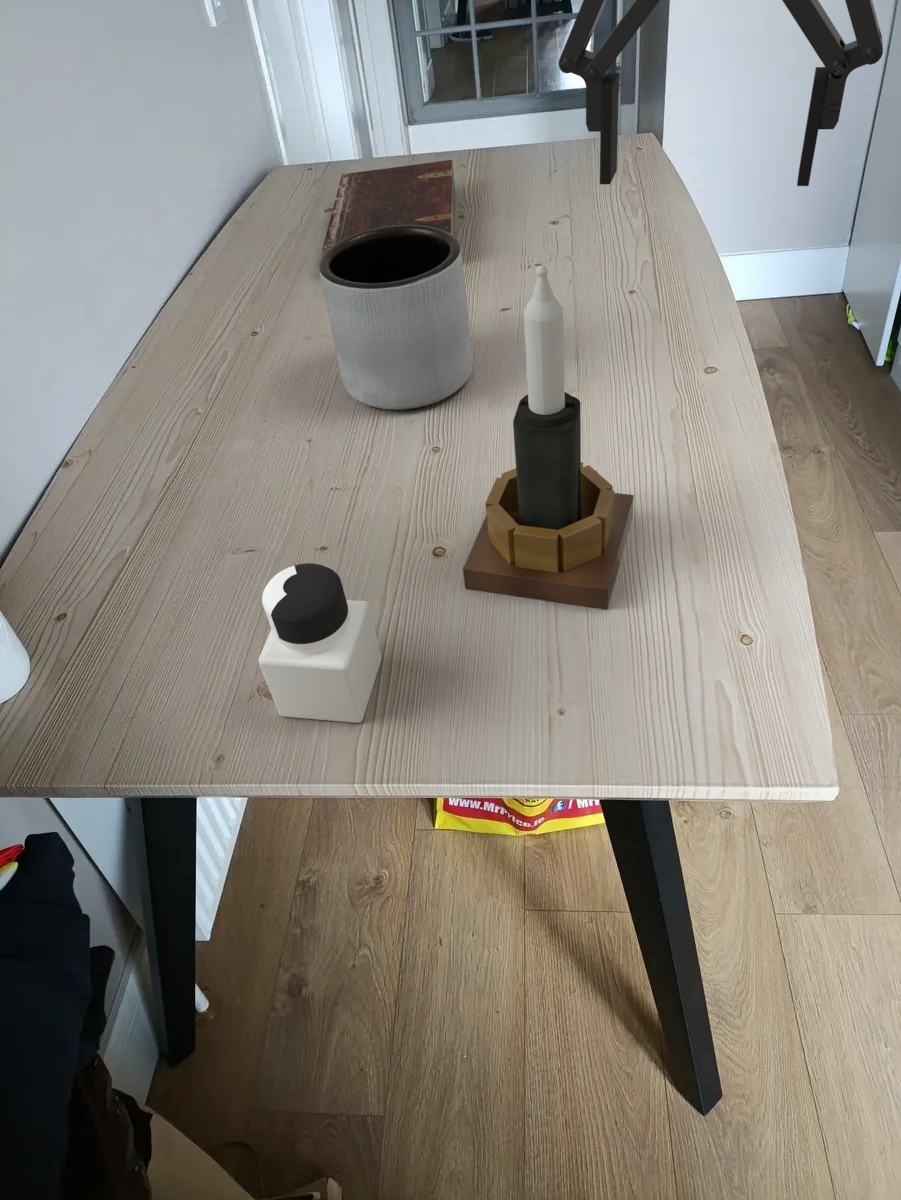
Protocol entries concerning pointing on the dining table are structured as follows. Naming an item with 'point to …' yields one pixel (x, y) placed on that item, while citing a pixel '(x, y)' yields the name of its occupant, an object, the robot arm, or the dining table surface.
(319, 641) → the medicine bottle
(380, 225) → the hardback book
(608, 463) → the dining table surface
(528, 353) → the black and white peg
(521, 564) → the stand
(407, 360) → the planter
